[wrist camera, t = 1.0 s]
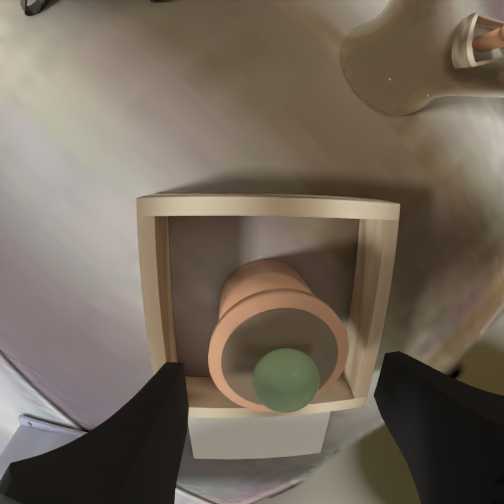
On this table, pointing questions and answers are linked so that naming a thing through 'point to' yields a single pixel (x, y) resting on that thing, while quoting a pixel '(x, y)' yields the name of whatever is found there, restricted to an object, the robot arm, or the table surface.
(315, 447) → the grey mat
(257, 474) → the table surface
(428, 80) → the silver drink can
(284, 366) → the terracotta pot
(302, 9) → the table surface
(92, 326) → the table surface
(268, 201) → the frame
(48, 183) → the table surface
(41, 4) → the coffee press
